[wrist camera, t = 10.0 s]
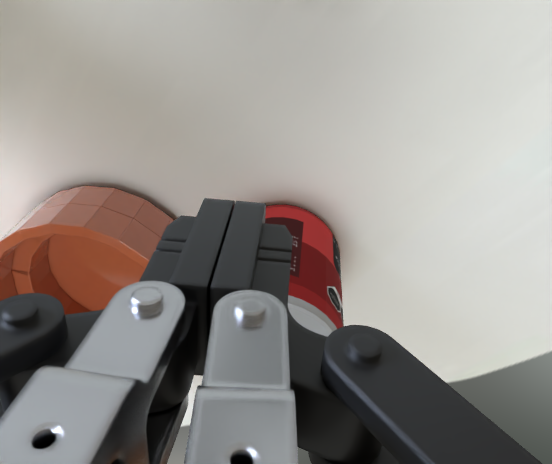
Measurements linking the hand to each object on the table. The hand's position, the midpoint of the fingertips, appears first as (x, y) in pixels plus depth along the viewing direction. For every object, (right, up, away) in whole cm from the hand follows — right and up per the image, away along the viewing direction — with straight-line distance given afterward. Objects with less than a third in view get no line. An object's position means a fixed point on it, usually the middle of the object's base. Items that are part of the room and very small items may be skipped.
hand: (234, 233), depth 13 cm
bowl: (-11, -2, +26) cm, 28 cm away
